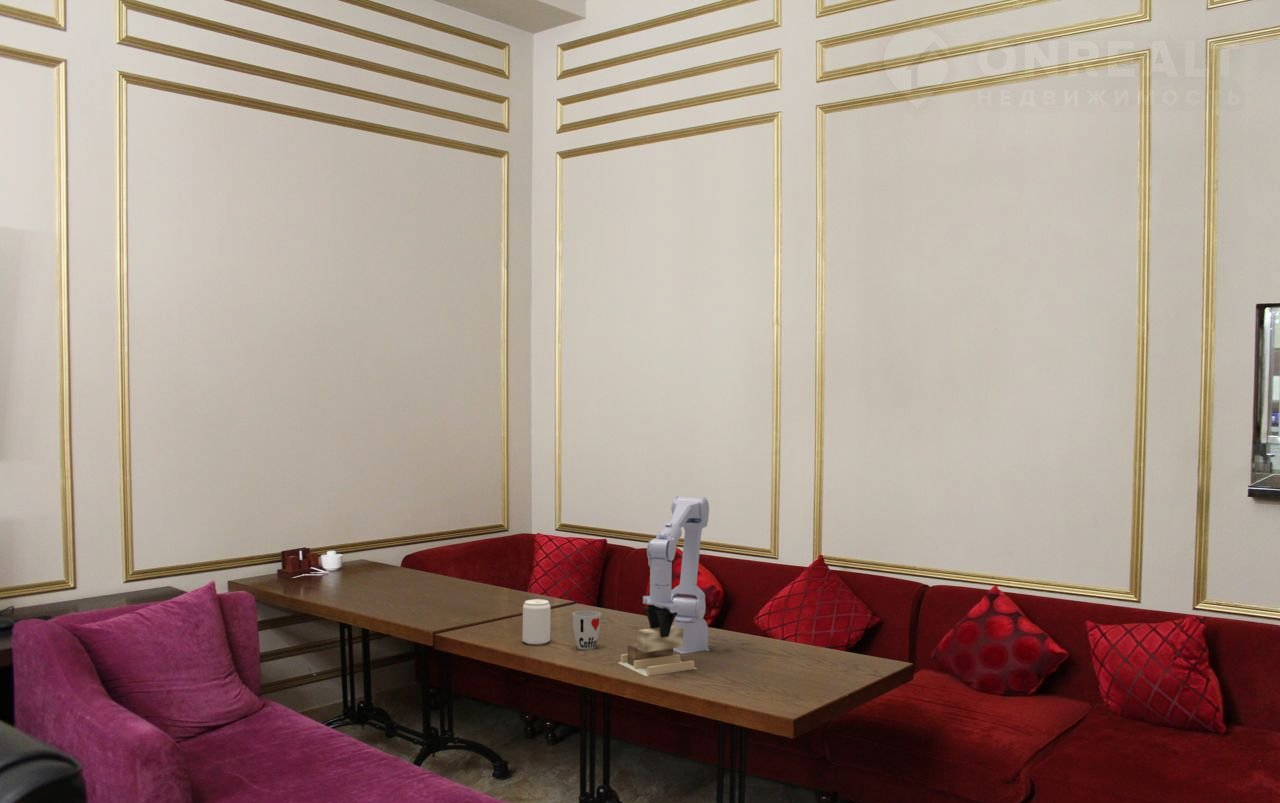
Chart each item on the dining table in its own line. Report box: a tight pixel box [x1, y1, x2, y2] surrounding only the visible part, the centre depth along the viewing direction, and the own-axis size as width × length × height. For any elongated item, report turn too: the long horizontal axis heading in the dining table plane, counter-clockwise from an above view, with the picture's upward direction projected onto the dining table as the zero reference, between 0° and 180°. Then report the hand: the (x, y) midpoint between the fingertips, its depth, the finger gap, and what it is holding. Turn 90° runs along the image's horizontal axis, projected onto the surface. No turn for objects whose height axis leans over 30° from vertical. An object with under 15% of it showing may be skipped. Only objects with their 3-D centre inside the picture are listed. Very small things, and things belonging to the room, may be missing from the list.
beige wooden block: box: [636, 624, 683, 652], centre depth 261 cm, size 12×4×5 cm, turn 122°
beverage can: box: [522, 598, 551, 646], centre depth 289 cm, size 8×8×12 cm
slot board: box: [617, 653, 698, 677], centre depth 262 cm, size 16×15×3 cm
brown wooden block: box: [627, 643, 674, 666], centre depth 265 cm, size 12×4×5 cm, turn 120°
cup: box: [572, 610, 602, 651], centre depth 283 cm, size 8×8×10 cm
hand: (660, 635), depth 261 cm, fingers closed on beige wooden block, 4 cm apart
